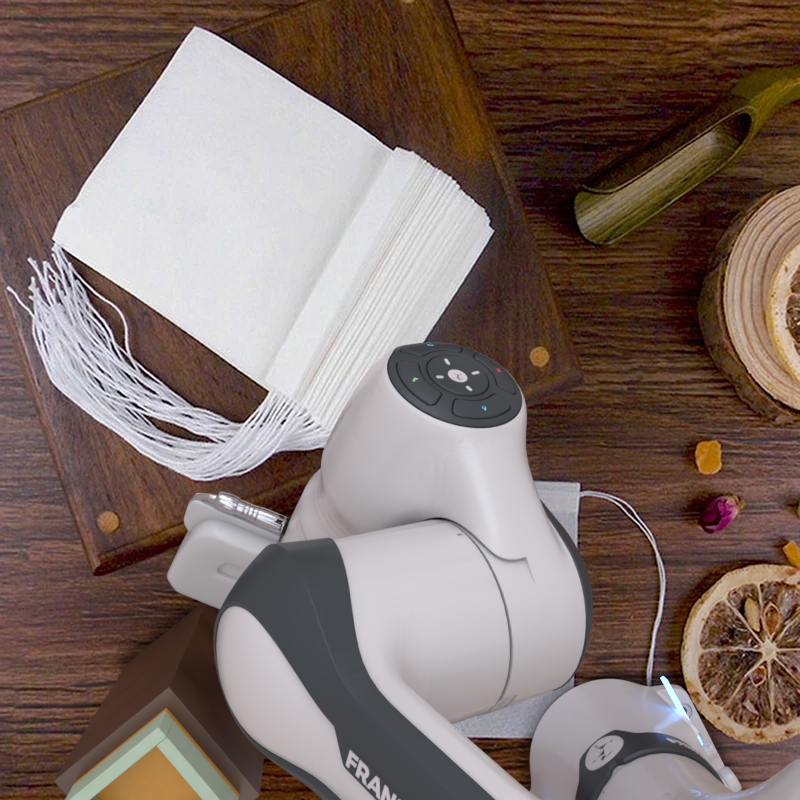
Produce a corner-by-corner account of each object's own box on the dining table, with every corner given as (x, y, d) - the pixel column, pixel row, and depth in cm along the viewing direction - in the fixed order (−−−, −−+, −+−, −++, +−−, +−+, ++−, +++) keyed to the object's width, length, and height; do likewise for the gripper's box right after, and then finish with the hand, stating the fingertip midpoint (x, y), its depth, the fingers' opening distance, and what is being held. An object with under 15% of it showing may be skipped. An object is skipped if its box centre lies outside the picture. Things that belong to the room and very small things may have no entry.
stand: (272, 674, 88) (260, 795, 62) (192, 740, 88) (146, 889, 62) (208, 597, 88) (168, 686, 62) (127, 662, 87) (53, 780, 61)
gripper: (174, 522, 56) (135, 639, 66) (502, 657, 58) (418, 751, 67) (213, 445, 61) (172, 564, 70) (516, 572, 62) (435, 672, 72)
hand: (294, 657), depth 69 cm, fingers closed on pill bottle, 4 cm apart
